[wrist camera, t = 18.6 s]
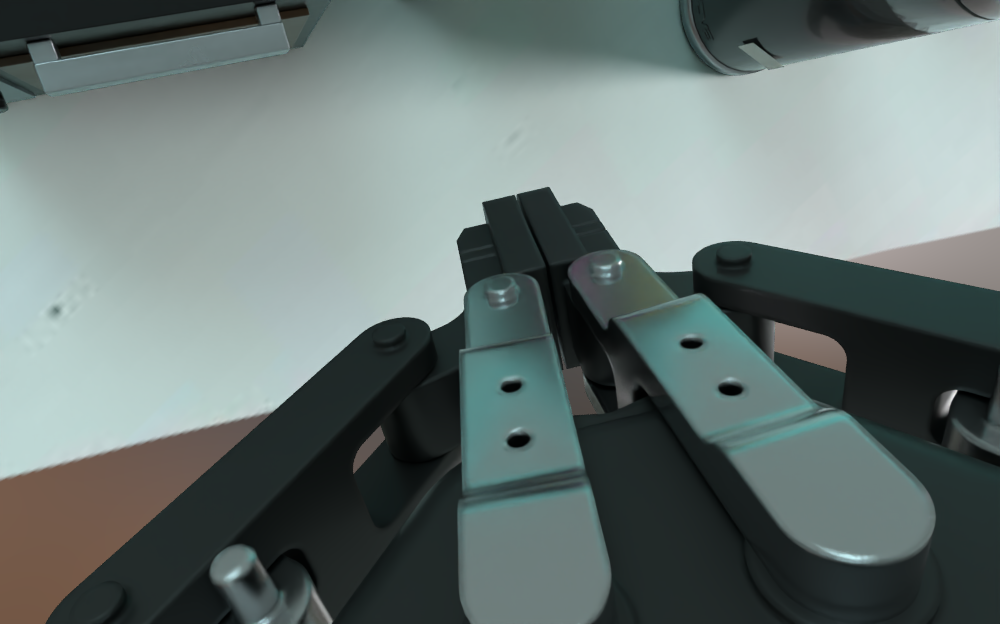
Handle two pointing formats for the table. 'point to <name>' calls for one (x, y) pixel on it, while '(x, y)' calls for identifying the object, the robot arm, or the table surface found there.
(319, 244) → the table surface
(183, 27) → the toaster oven
